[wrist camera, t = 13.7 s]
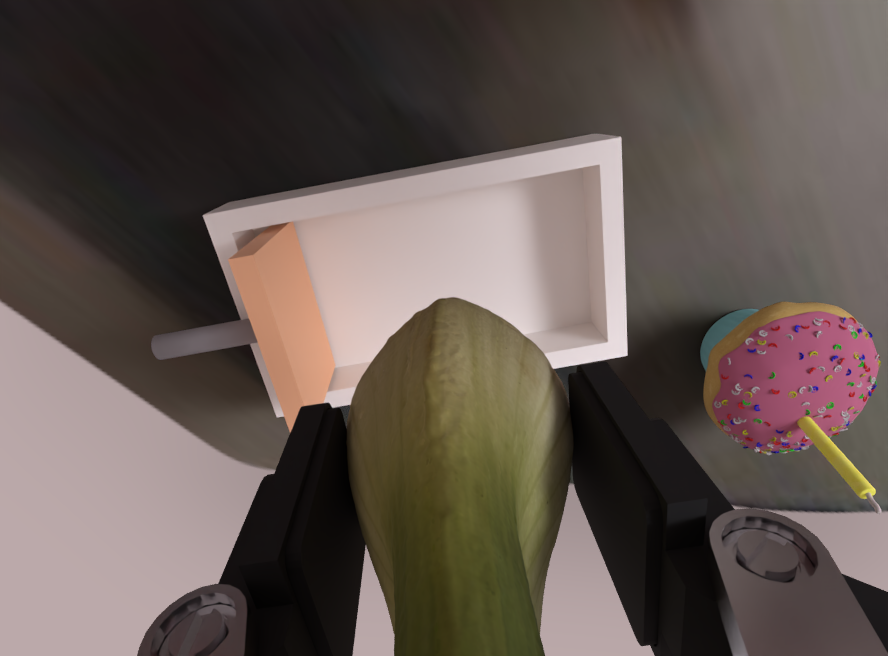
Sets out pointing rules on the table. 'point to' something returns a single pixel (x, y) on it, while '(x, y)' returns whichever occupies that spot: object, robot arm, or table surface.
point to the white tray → (456, 250)
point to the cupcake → (790, 380)
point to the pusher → (270, 321)
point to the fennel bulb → (460, 480)
